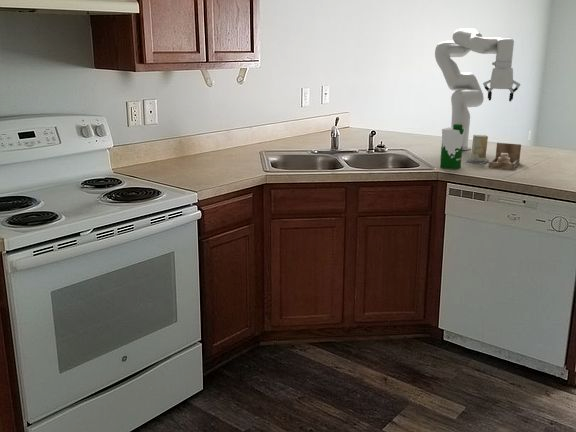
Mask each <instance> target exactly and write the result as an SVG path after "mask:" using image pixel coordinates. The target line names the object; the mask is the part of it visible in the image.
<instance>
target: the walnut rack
mask: <svg viewBox="0 0 576 432" xmlns="http://www.w3.org/2000/svg"><path fill="white" fill-rule="evenodd" d="M521 150H522V144H521V143H505V142H496V149H495V156H494V157H493V158H492V159H491V160H489V161H488V164H489V165H488V168H489V167H492V169H500V168H503V169H502V170H511V169H512V170H515V169H516V168H517V166H518V165H519V164H520V159H521V158H520V157H521V152H522V151H521ZM501 153H508V154H509V156H508V158H510V162H511V164H509V163H497V161H498V158H499V157H500V156H501ZM515 167H516V168H515Z"/></svg>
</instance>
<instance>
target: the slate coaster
mask: <svg viewBox="0 0 576 432" xmlns="http://www.w3.org/2000/svg"><path fill="white" fill-rule="evenodd" d="M465 161H466V162H465V163H467V162H469V163H470V164H479V163H482V164H481V165H486V164H487V163H489V162H490V160H489V159H486V158H485V161H472V160H471V157H470V158H468V159H467V160H465Z"/></svg>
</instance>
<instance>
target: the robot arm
mask: <svg viewBox="0 0 576 432" xmlns="http://www.w3.org/2000/svg"><path fill="white" fill-rule="evenodd" d="M514 43H515V41H514V39H513V38H511V37H510V38H508V37H507V38H506V37H505V38H503V37H483V34H481V33H480V31H479V30H478V29H475V28H459V29H456V30H455V31H454V32H453V35H452V40H446V41H441V42H439V43H438V44H437V45H436V47H435V50H434V57H435V62H436V63H437V64H436V65H438V67H439V69H440V70H441V72H442V74H443V75H442V76H443V77H444V80H445V82H446V84H447V87H448V89H450V90H451V91H454V92H453V93H452V94H451V96H450V100H451V101H450V102H451V122H450V123H451V125H450V128H453V125H454V124H461V125H463V126H462V129H465V131H464V136H463V146H462V151H468V150H472V146H471V145H469V138H470V137H469V136H470V135H469V134H470V122H471V114H470V111H469V108H477V107H480V106H482V105H483V102H484V100H485V99H484V98H485V97H484V93H483V90H482V89H481V86H480V83H479V81H478V79H477V77H476V75H474V73H472V72H462V71H460V69H459V67H458V64H457V63H456V62H455V61H454V60H453V59H452V58H463V57H465V56H467V55H468V54H469V53H470V52H471V51H472V52H474V53H477V54H483V55H490V54H492V55H495V61H492V63H491V64H492V66H494V67H493V68H492V70H491V75H490V76H491V77H490V79H488V80H487V81H484V82H483V83H482V84H483V87H484V89H485V90H486V91H487V99H488V101H491V100H492V95H493V93H492V91H493V90H497V89H498V90H509V92H510V93H509V96H508V97H509V99H508V101H509V102H512V101H513V100H514V93H515V92H516V91H518V89H519V88H520V86H521V83H520V82H517V81H516V80H514V69H513V66H512V65H513V63H512V62H513V55H514V54H513V53H514V45H515V44H514ZM488 84H489V86H488ZM513 85H515V87H514V88H513Z"/></svg>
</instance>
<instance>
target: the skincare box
mask: <svg viewBox="0 0 576 432" xmlns="http://www.w3.org/2000/svg"><path fill="white" fill-rule="evenodd" d="M488 138H489V136H488V135H486V134H473V136H472V144H471V155H470V158H471V160H472V161H485V159H486V157H487V149H488V148H487V147H488V140H489V139H488Z"/></svg>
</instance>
